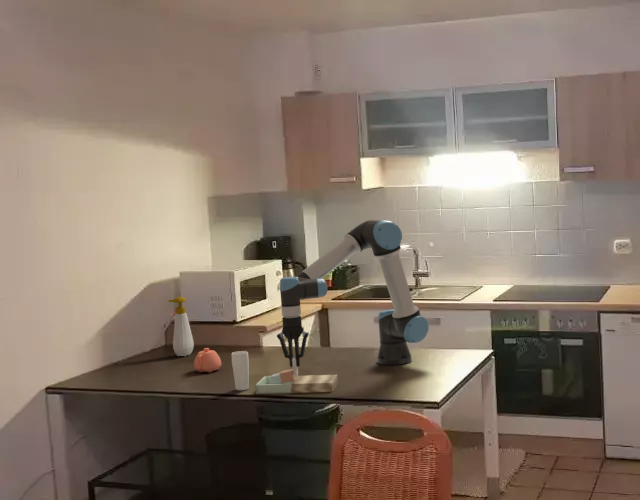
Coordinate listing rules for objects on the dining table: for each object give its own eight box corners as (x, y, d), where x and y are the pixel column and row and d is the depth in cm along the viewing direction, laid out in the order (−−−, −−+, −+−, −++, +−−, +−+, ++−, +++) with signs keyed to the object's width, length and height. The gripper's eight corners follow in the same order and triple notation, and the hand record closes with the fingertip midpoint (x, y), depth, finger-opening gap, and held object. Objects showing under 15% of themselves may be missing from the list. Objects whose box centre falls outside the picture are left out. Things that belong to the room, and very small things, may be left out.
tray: (298, 383, 378) (298, 375, 378) (290, 393, 362) (289, 384, 362) (265, 384, 381) (264, 376, 380) (255, 394, 365) (255, 385, 365)
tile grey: (282, 372, 373) (273, 374, 374) (279, 375, 368) (270, 376, 369) (285, 384, 373) (275, 386, 374) (282, 387, 368) (272, 389, 369)
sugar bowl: (226, 368, 418) (225, 345, 417) (210, 375, 406) (208, 352, 405) (203, 367, 424) (202, 345, 423) (186, 374, 411) (185, 351, 410)
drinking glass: (234, 388, 378) (231, 351, 376) (250, 386, 378) (248, 350, 377) (233, 391, 371) (231, 354, 370) (250, 390, 372) (248, 353, 370)
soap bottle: (181, 352, 463) (176, 294, 461) (198, 353, 459) (194, 294, 456) (166, 357, 452) (161, 298, 449) (183, 358, 447) (178, 298, 445)
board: (337, 383, 374) (337, 374, 374) (332, 391, 360) (331, 382, 360) (298, 384, 377) (298, 375, 377) (291, 392, 363) (291, 383, 363)
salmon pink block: (296, 378, 372) (294, 368, 372) (293, 381, 367) (291, 371, 367) (284, 380, 373) (282, 370, 373) (281, 383, 368) (279, 373, 368)
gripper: (309, 314, 370) (313, 372, 372) (277, 315, 372) (281, 373, 374) (305, 317, 363) (310, 376, 365) (273, 318, 365) (277, 377, 367)
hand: (295, 374), depth 369 cm, fingers closed
